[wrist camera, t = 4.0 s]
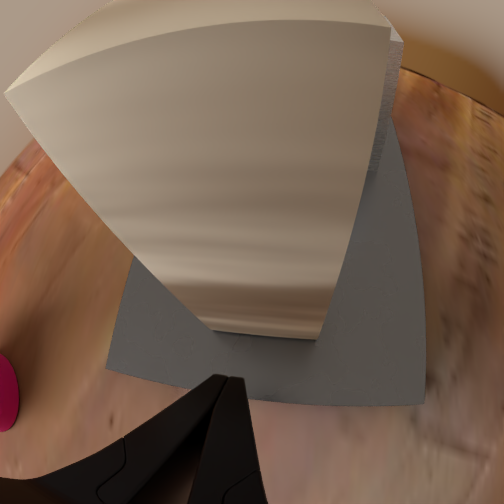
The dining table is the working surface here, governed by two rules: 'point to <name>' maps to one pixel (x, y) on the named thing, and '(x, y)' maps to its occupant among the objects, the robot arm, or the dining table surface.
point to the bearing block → (337, 318)
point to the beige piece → (220, 144)
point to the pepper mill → (8, 394)
